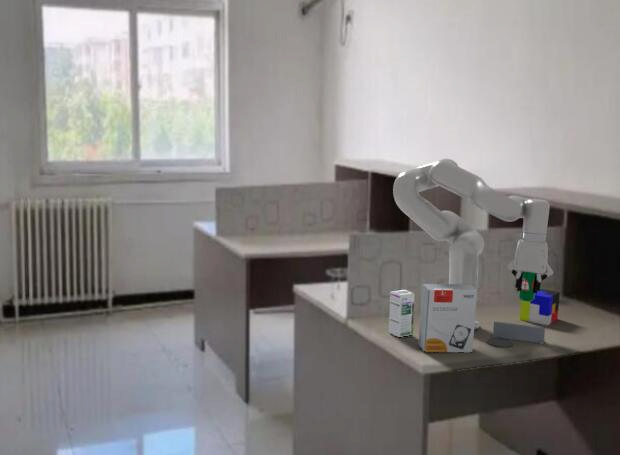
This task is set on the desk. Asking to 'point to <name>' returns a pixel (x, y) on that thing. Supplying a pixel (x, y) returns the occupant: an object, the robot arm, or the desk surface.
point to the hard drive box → (447, 317)
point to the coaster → (499, 342)
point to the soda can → (527, 286)
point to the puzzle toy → (541, 308)
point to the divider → (519, 332)
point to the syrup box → (401, 312)
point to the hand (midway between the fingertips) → (527, 291)
